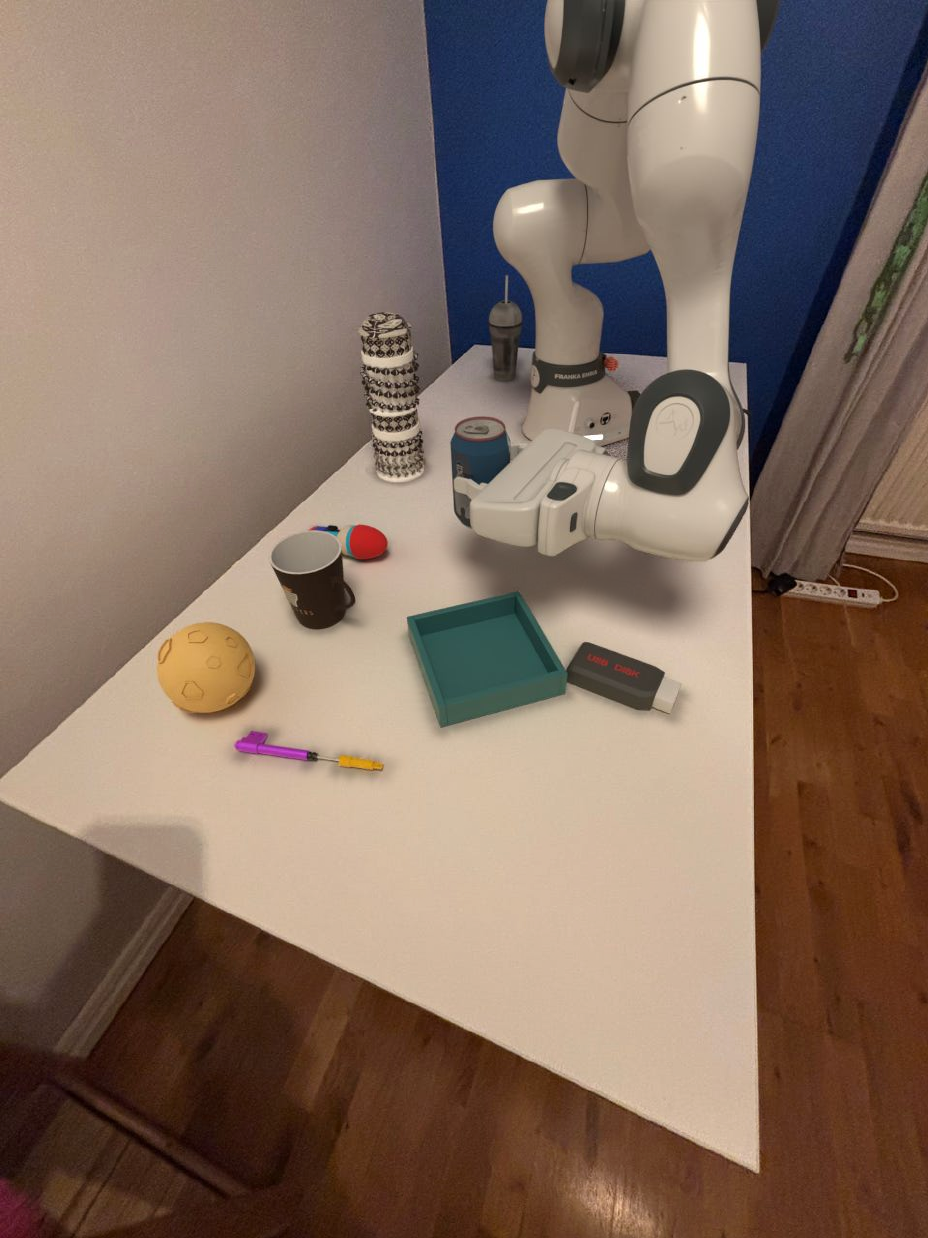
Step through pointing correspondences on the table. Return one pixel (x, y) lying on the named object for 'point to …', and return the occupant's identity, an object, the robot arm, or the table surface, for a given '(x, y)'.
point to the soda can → (477, 456)
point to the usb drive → (622, 678)
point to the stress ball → (205, 667)
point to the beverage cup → (505, 337)
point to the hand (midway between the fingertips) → (474, 465)
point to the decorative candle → (392, 396)
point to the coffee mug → (312, 577)
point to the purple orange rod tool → (297, 752)
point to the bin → (484, 658)
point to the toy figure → (358, 540)
